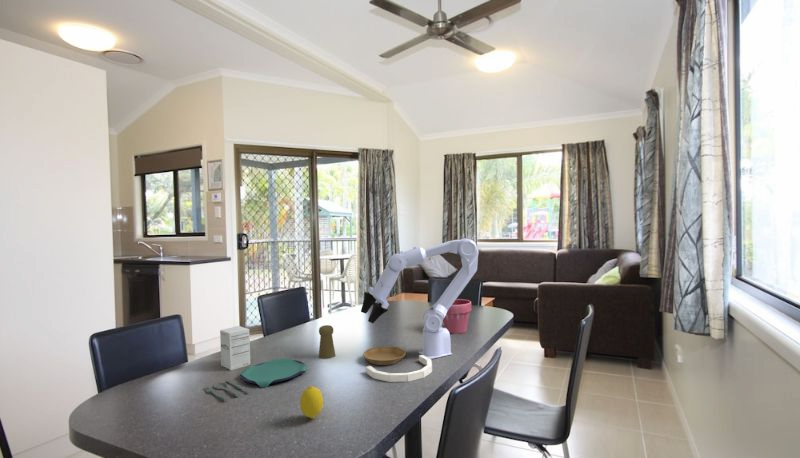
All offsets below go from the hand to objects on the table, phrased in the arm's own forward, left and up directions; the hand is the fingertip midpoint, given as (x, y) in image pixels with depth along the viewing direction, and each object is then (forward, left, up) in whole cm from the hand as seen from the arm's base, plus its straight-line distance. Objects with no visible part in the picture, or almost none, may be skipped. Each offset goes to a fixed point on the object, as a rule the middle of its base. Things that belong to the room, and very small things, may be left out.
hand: (366, 317), depth 146 cm
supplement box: (+43, -16, -14) cm, 48 cm away
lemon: (+31, +36, -14) cm, 49 cm away
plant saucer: (-3, +7, -14) cm, 16 cm away
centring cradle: (-3, +22, -14) cm, 26 cm away
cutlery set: (+38, +2, -15) cm, 41 cm away
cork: (+13, -8, -14) cm, 21 cm away
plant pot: (-45, -9, -14) cm, 48 cm away
